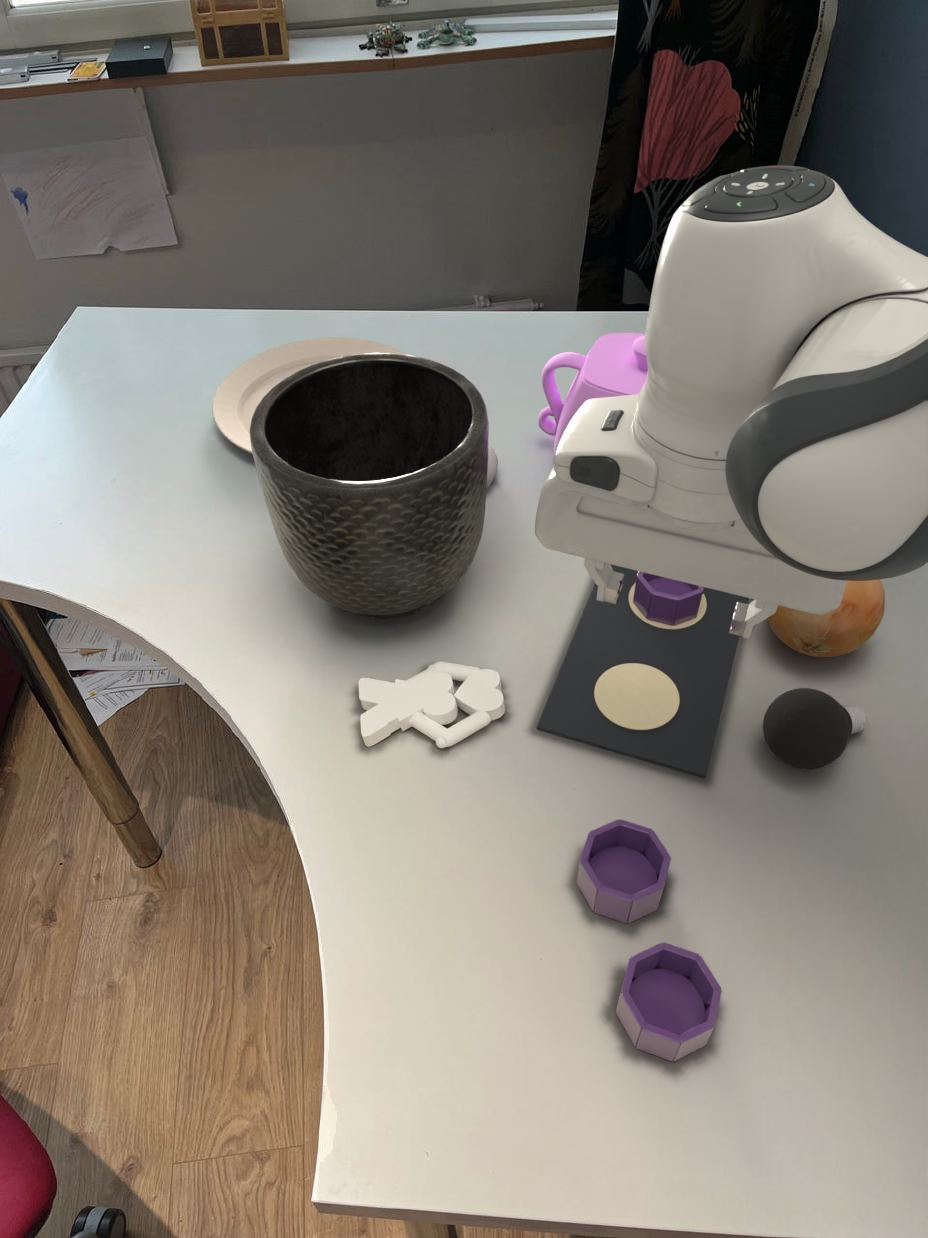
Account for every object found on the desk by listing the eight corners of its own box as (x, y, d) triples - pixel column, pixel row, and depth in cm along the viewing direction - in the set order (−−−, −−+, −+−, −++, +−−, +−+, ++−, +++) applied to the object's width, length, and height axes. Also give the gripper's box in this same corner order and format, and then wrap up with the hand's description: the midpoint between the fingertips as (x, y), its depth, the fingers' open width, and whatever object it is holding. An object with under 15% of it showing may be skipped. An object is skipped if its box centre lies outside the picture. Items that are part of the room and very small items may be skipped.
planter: (471, 503, 97) (468, 340, 83) (506, 641, 84) (509, 474, 70) (283, 526, 95) (248, 363, 82) (288, 670, 82) (246, 505, 68)
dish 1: (670, 859, 69) (676, 836, 66) (651, 932, 65) (658, 910, 63) (592, 834, 70) (595, 811, 68) (569, 904, 67) (572, 882, 64)
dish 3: (717, 984, 62) (727, 963, 60) (700, 1072, 59) (709, 1054, 56) (630, 953, 64) (636, 932, 62) (608, 1038, 60) (613, 1019, 58)
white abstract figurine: (511, 738, 76) (508, 723, 74) (367, 764, 76) (362, 749, 74) (495, 657, 82) (493, 642, 80) (362, 681, 82) (357, 666, 80)
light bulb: (907, 706, 73) (826, 722, 67) (875, 772, 75) (795, 792, 70) (843, 665, 77) (762, 677, 72) (815, 728, 80) (735, 744, 75)
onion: (862, 606, 86) (896, 525, 79) (869, 688, 79) (908, 608, 72) (755, 592, 87) (778, 511, 80) (753, 671, 81) (779, 591, 74)
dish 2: (705, 586, 88) (711, 560, 85) (692, 631, 84) (698, 605, 81) (643, 572, 89) (647, 546, 87) (628, 614, 85) (632, 589, 83)
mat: (752, 578, 89) (753, 575, 88) (704, 778, 74) (705, 775, 73) (610, 545, 92) (611, 542, 92) (536, 729, 77) (536, 726, 77)
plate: (409, 484, 100) (407, 469, 98) (184, 465, 103) (179, 451, 101) (448, 357, 117) (448, 343, 115) (254, 345, 120) (251, 331, 118)
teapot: (595, 535, 93) (608, 416, 83) (515, 423, 107) (517, 308, 96) (758, 489, 98) (790, 371, 87) (661, 387, 111) (679, 273, 101)
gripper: (891, 460, 55) (830, 620, 65) (560, 395, 60) (552, 552, 70) (882, 526, 51) (818, 685, 61) (529, 451, 56) (525, 608, 66)
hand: (673, 613), depth 66 cm, fingers open, 8 cm apart
